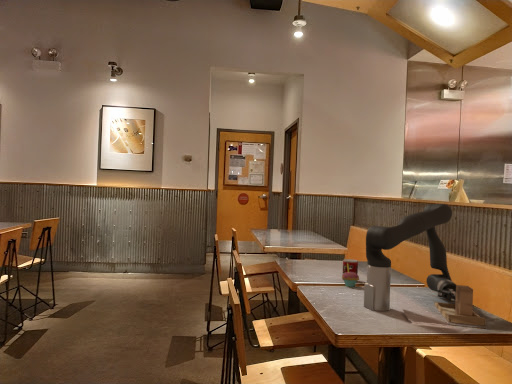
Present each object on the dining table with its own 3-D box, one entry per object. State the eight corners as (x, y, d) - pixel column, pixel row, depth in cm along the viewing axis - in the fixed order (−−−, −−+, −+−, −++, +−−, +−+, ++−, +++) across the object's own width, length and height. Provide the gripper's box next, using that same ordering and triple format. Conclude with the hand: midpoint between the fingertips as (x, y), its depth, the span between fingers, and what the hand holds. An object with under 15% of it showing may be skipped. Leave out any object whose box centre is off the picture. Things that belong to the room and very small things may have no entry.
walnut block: (455, 316, 145) (456, 284, 145) (466, 318, 144) (467, 285, 144) (459, 321, 139) (460, 288, 139) (472, 322, 138) (473, 289, 138)
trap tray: (434, 308, 160) (434, 299, 160) (466, 311, 157) (466, 302, 157) (448, 325, 138) (448, 314, 138) (485, 329, 135) (485, 318, 136)
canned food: (339, 279, 211) (340, 259, 211) (351, 278, 215) (351, 258, 215) (348, 282, 204) (349, 261, 205) (360, 281, 208) (361, 261, 208)
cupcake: (346, 288, 191) (347, 263, 191) (338, 284, 199) (339, 260, 199) (362, 287, 193) (362, 263, 193) (353, 283, 201) (354, 260, 201)
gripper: (432, 279, 163) (442, 288, 146) (466, 282, 160) (480, 292, 143) (431, 297, 163) (441, 308, 146) (465, 300, 160) (480, 312, 143)
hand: (461, 300), depth 145 cm, fingers closed
